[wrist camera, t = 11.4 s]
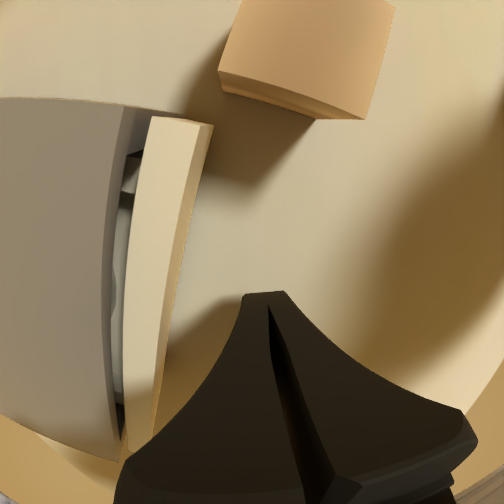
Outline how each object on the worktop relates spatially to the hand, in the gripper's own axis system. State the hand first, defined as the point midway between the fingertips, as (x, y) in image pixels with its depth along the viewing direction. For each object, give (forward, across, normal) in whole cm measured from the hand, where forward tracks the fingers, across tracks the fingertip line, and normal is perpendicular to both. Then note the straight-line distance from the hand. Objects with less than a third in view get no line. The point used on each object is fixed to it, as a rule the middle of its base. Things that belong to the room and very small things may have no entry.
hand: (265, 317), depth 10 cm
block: (+1, -1, -8) cm, 8 cm away
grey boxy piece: (+1, +9, -3) cm, 9 cm away
